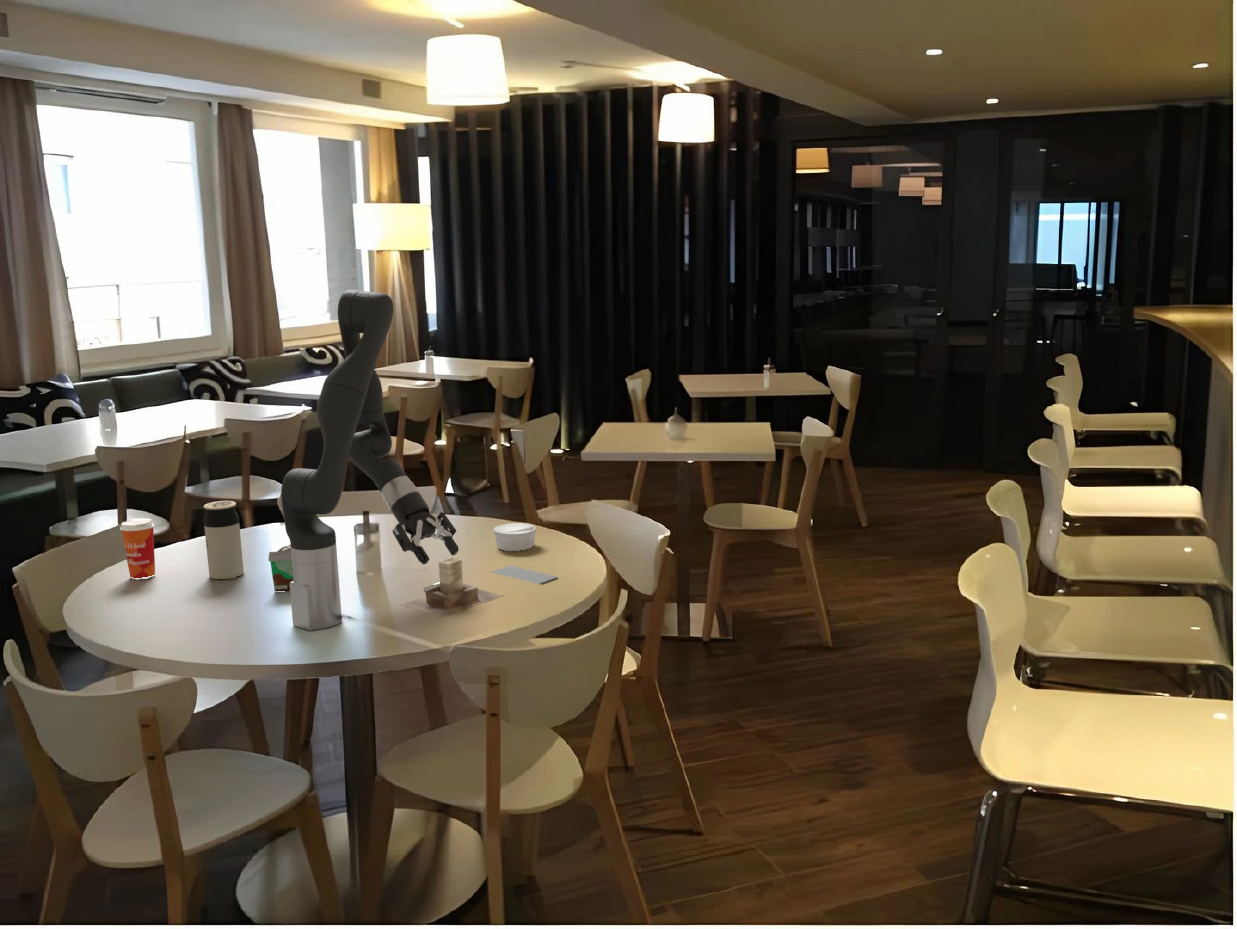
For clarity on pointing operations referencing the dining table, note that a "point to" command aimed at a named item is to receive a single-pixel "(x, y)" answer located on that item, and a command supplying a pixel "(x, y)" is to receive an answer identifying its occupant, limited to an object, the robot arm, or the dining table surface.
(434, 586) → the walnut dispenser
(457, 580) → the tan wooden block
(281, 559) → the food container
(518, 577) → the rubber mat
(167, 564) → the dining table surface
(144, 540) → the paper cup
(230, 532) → the travel mug
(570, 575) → the dining table surface
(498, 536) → the ramekin
